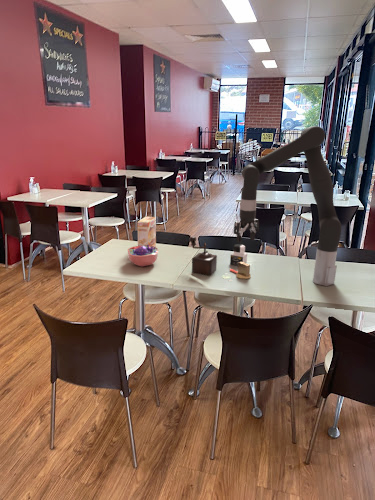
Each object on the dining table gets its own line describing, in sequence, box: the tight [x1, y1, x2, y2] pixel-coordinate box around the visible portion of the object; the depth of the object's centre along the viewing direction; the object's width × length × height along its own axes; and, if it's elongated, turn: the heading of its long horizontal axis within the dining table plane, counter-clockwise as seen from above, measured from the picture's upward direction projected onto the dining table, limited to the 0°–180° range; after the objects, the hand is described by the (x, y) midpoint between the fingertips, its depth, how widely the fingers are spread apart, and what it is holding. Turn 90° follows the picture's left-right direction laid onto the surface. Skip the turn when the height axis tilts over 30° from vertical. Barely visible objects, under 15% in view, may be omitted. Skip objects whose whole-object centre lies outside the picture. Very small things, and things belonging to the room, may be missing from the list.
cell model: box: [127, 245, 159, 267], centre depth 205 cm, size 17×20×11 cm
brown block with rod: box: [229, 262, 252, 280], centre depth 189 cm, size 14×7×7 cm, turn 34°
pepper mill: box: [188, 236, 218, 277], centre depth 193 cm, size 16×11×18 cm
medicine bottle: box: [229, 243, 248, 267], centre depth 205 cm, size 7×7×12 cm
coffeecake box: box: [137, 216, 157, 248], centre depth 228 cm, size 15×7×20 cm, turn 167°
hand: (245, 241), depth 182 cm, fingers open, 8 cm apart
